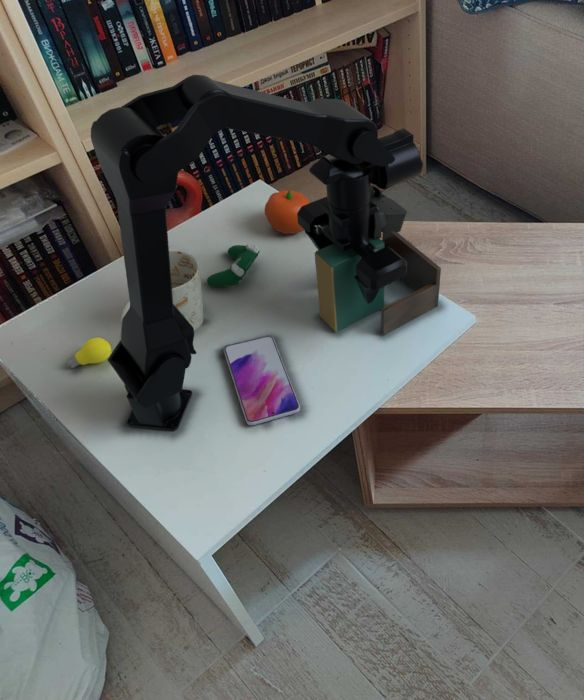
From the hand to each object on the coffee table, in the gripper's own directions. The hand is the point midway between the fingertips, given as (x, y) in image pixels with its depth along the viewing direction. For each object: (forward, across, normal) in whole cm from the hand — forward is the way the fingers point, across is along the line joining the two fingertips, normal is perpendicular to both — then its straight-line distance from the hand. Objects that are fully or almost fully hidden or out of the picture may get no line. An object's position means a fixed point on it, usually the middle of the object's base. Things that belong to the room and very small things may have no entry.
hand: (352, 285), depth 101 cm
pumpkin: (+6, +23, -3) cm, 24 cm away
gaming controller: (+6, +18, +10) cm, 22 cm away
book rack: (+6, 0, -6) cm, 8 cm away
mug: (+6, +13, +23) cm, 27 cm away
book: (+6, 0, 0) cm, 6 cm away
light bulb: (+4, +16, +34) cm, 38 cm away
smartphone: (+6, -4, +18) cm, 19 cm away
